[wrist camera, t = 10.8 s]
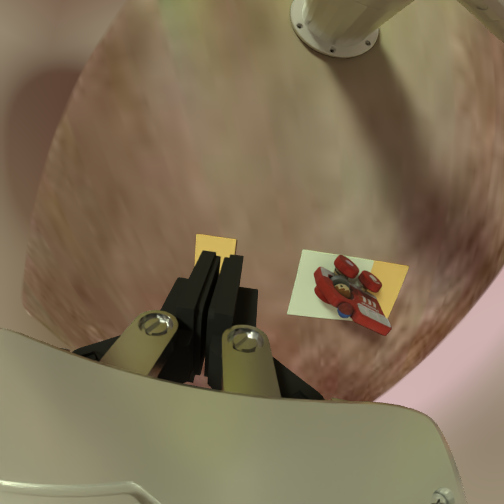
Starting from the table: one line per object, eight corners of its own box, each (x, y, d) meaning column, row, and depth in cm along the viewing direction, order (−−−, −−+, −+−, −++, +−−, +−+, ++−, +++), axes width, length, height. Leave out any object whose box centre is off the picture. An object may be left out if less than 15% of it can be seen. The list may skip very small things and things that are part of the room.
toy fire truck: (327, 245, 42) (343, 279, 32) (384, 280, 44) (407, 317, 34) (301, 280, 44) (310, 321, 35) (359, 310, 46) (376, 350, 37)
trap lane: (196, 233, 42) (196, 234, 42) (408, 266, 43) (409, 266, 42) (193, 299, 47) (193, 300, 47) (384, 322, 48) (385, 323, 48)
